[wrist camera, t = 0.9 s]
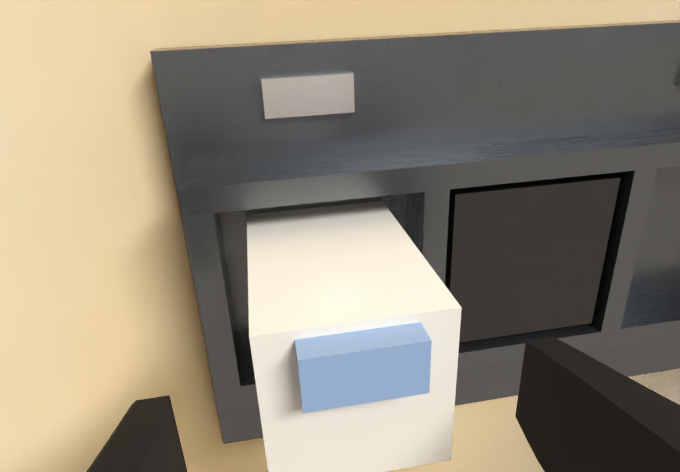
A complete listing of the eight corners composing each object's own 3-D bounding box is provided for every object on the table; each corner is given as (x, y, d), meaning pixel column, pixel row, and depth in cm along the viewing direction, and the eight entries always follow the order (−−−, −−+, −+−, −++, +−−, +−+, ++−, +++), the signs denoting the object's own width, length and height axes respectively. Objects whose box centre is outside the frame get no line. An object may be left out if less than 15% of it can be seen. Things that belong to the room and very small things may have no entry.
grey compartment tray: (805, 13, 16) (902, 13, 14) (700, 346, 21) (757, 387, 19) (156, 48, 13) (137, 56, 11) (224, 423, 18) (222, 482, 16)
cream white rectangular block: (382, 200, 15) (474, 325, 9) (383, 314, 17) (461, 482, 11) (246, 214, 14) (249, 357, 8) (261, 330, 16) (272, 518, 10)
